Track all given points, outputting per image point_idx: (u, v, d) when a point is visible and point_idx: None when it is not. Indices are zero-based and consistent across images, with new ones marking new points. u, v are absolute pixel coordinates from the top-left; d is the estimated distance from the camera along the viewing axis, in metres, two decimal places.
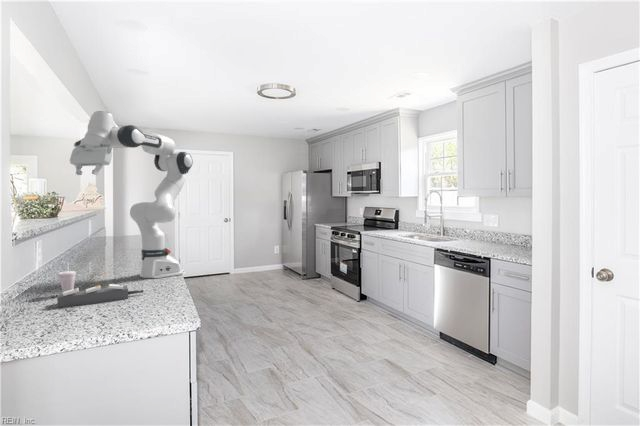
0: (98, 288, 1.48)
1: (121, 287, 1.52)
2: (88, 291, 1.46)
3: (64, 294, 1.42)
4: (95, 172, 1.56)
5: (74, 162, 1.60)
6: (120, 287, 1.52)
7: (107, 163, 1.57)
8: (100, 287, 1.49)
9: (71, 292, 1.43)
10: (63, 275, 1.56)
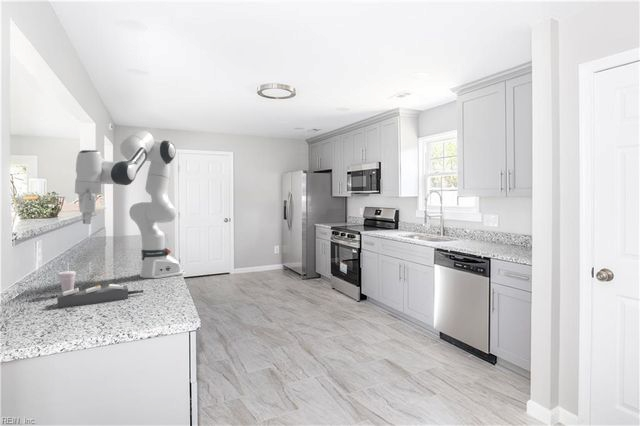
0: (98, 288, 1.48)
1: (121, 287, 1.52)
2: (88, 291, 1.46)
3: (64, 294, 1.42)
4: (86, 222, 1.43)
5: (80, 211, 1.52)
6: (120, 287, 1.52)
7: (91, 211, 1.40)
8: (100, 287, 1.49)
9: (71, 292, 1.43)
10: (63, 275, 1.56)
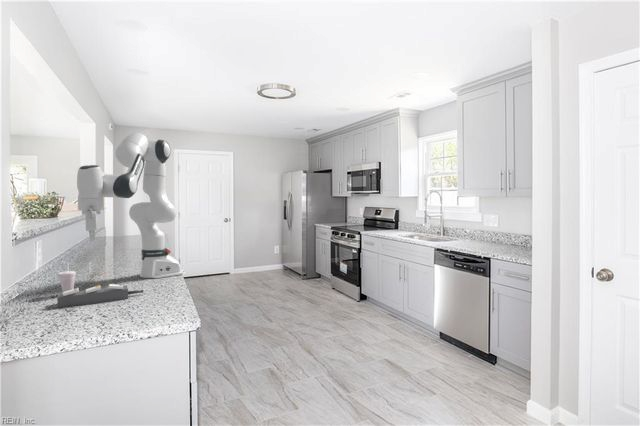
0: (98, 288, 1.48)
1: (121, 287, 1.52)
2: (88, 291, 1.46)
3: (64, 294, 1.42)
4: (91, 239, 1.46)
5: None
6: (120, 287, 1.52)
7: (93, 229, 1.39)
8: (100, 287, 1.49)
9: (71, 292, 1.43)
10: (63, 275, 1.56)
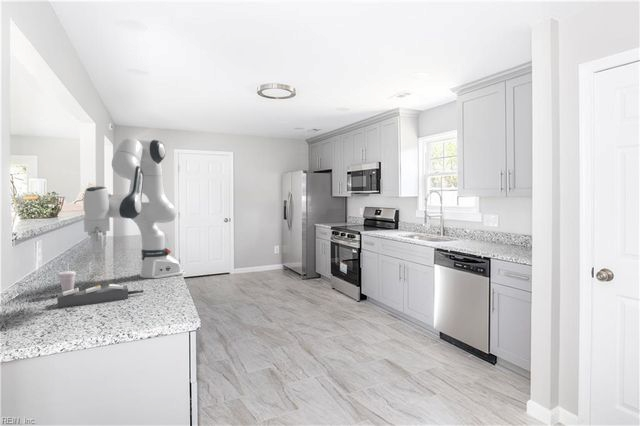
0: (98, 288, 1.48)
1: (121, 287, 1.52)
2: (88, 291, 1.46)
3: (64, 294, 1.42)
4: (96, 259, 1.47)
5: None
6: (120, 287, 1.52)
7: (99, 251, 1.40)
8: (100, 287, 1.49)
9: (71, 292, 1.43)
10: (63, 275, 1.56)
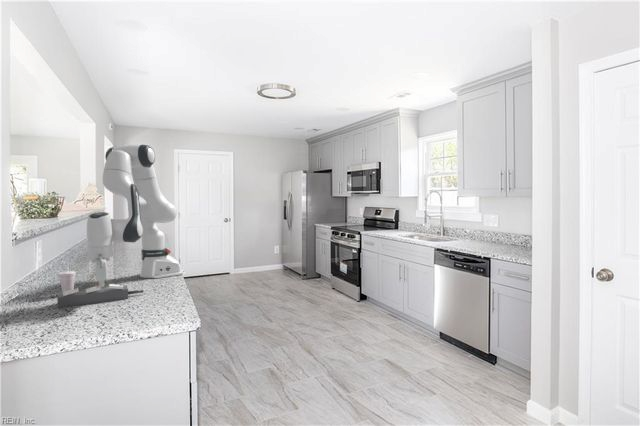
0: (98, 288, 1.48)
1: (121, 287, 1.52)
2: (88, 291, 1.46)
3: (64, 294, 1.42)
4: (100, 285, 1.48)
5: None
6: (120, 287, 1.52)
7: (103, 278, 1.41)
8: (100, 287, 1.49)
9: (71, 292, 1.43)
10: (63, 275, 1.56)
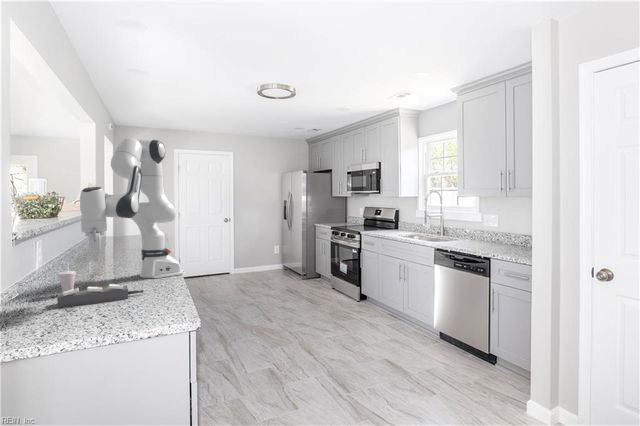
0: (99, 290, 1.48)
1: (121, 287, 1.52)
2: (89, 289, 1.46)
3: (64, 294, 1.42)
4: (94, 259, 1.48)
5: None
6: (120, 287, 1.52)
7: (97, 251, 1.41)
8: (101, 289, 1.50)
9: (71, 292, 1.43)
10: (63, 275, 1.56)
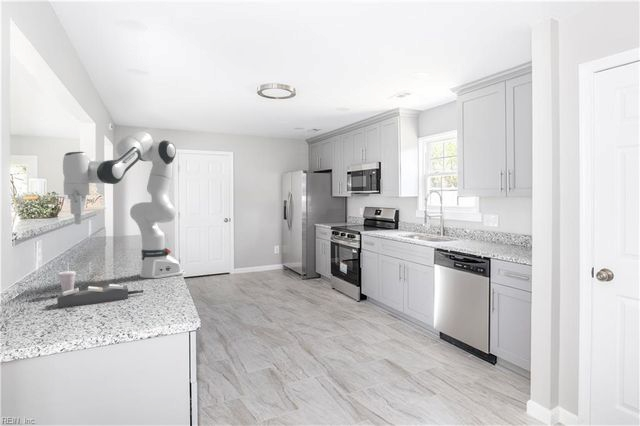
0: (100, 290, 1.48)
1: (121, 287, 1.52)
2: (90, 289, 1.46)
3: (64, 294, 1.42)
4: (76, 222, 1.51)
5: None
6: (120, 287, 1.52)
7: (77, 213, 1.44)
8: None
9: (71, 292, 1.43)
10: (63, 275, 1.56)
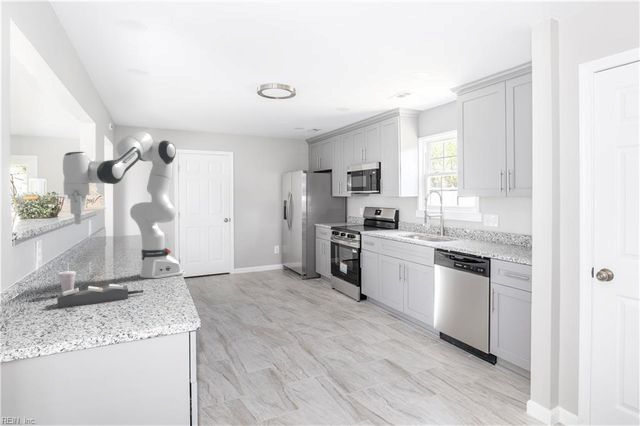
0: (100, 290, 1.48)
1: (121, 287, 1.52)
2: (90, 289, 1.46)
3: (64, 294, 1.42)
4: (76, 222, 1.51)
5: None
6: (120, 287, 1.52)
7: (77, 213, 1.44)
8: (101, 290, 1.50)
9: (71, 292, 1.43)
10: (63, 275, 1.56)
